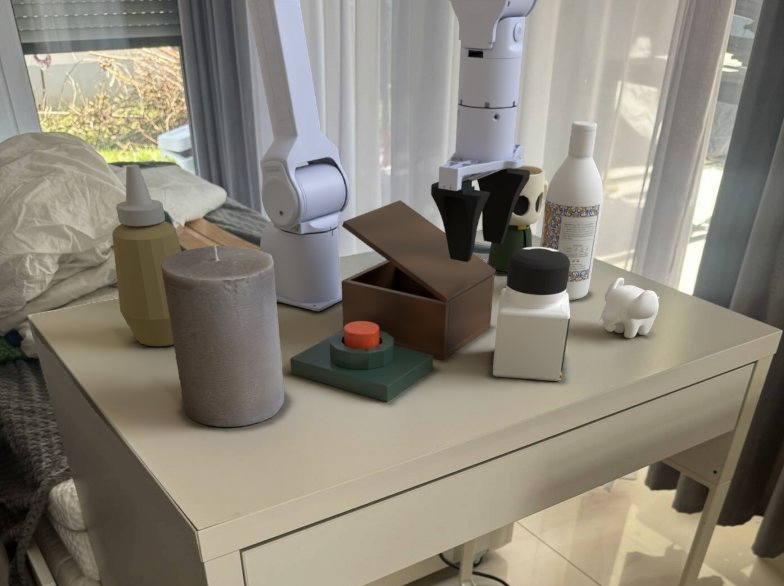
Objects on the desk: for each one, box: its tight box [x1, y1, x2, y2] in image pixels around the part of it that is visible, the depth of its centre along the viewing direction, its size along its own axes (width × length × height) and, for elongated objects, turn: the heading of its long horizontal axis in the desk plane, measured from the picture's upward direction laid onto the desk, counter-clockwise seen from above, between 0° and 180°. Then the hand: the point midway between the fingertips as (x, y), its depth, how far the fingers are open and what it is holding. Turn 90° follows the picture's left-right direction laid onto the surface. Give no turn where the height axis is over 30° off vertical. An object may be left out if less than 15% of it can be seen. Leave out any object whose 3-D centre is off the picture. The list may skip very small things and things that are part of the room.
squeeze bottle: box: [111, 163, 183, 347], centre depth 82 cm, size 8×8×18 cm
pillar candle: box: [161, 244, 285, 428], centre depth 70 cm, size 10×10×15 cm
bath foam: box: [539, 120, 604, 301], centre depth 96 cm, size 7×7×20 cm
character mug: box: [487, 164, 549, 273], centre depth 106 cm, size 11×7×13 cm, turn 123°
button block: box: [289, 330, 434, 403], centre depth 80 cm, size 12×9×4 cm
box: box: [340, 259, 495, 361], centre depth 89 cm, size 13×11×6 cm
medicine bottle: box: [492, 246, 571, 382], centre depth 80 cm, size 7×7×12 cm
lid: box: [341, 199, 497, 303], centre depth 85 cm, size 14×11×1 cm
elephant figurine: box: [598, 277, 660, 339], centre depth 89 cm, size 7×8×6 cm
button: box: [344, 321, 379, 349], centre depth 79 cm, size 4×4×2 cm
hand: (477, 250), depth 82 cm, fingers open, 7 cm apart
